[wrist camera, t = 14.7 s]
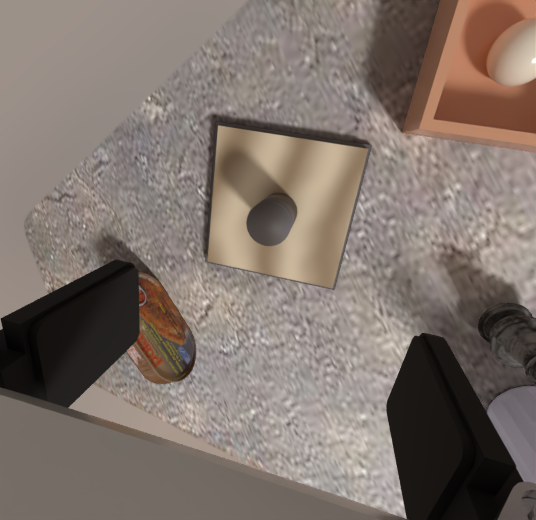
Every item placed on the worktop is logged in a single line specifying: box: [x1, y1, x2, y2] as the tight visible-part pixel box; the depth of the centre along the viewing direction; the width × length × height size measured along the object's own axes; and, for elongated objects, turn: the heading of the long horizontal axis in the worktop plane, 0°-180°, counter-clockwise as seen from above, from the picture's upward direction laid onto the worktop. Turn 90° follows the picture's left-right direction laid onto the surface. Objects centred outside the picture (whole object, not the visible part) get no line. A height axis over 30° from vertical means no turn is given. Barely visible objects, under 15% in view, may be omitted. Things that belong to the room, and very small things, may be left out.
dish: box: [402, 0, 536, 153], centre depth 23 cm, size 13×13×6 cm
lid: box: [208, 126, 368, 288], centre depth 30 cm, size 15×15×7 cm
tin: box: [126, 272, 196, 384], centre depth 38 cm, size 15×3×8 cm, turn 27°
